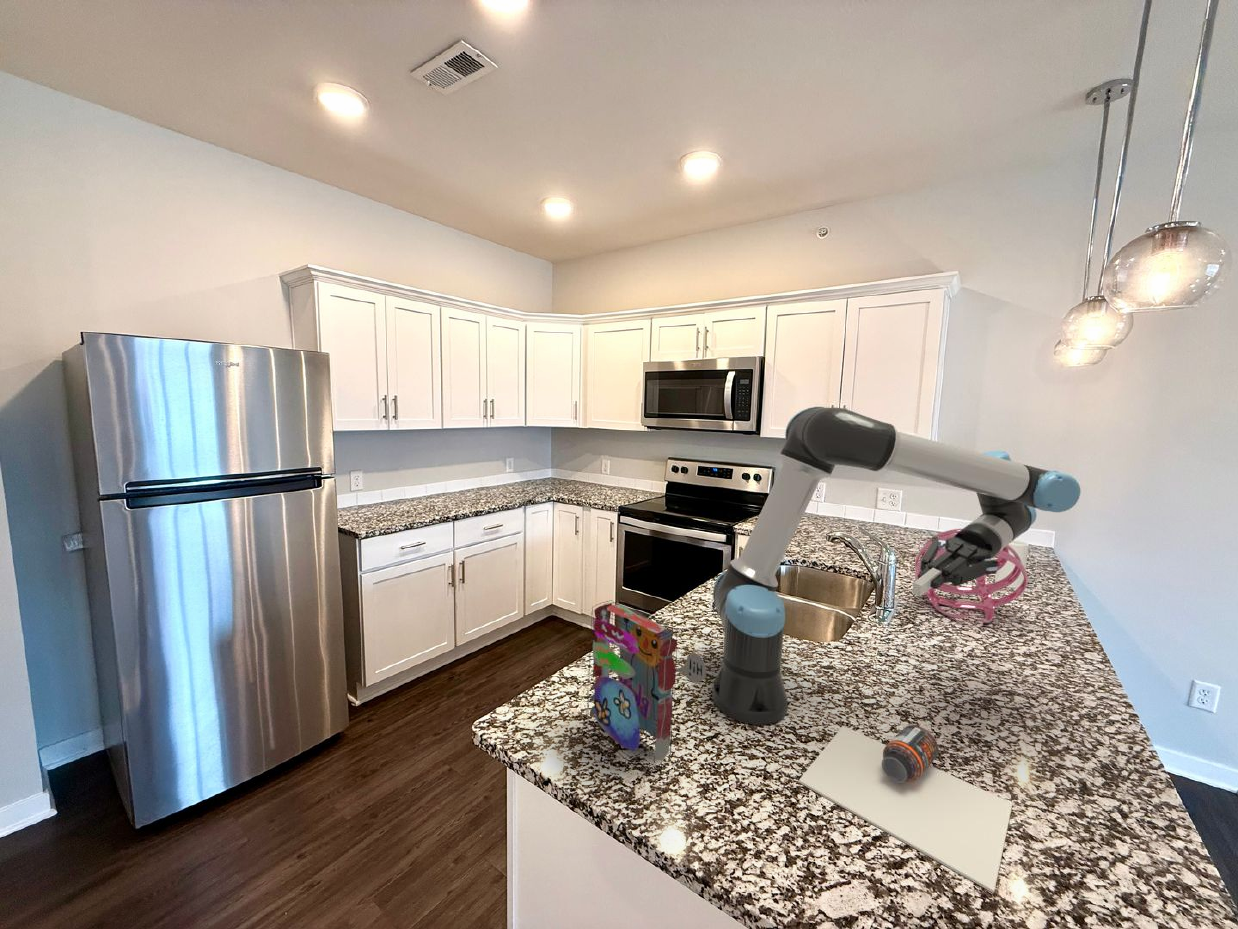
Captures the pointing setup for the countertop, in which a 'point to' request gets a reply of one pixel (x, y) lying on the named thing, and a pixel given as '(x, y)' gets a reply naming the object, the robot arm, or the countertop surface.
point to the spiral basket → (982, 586)
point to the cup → (1022, 551)
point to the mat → (915, 806)
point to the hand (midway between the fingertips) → (916, 589)
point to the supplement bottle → (909, 754)
